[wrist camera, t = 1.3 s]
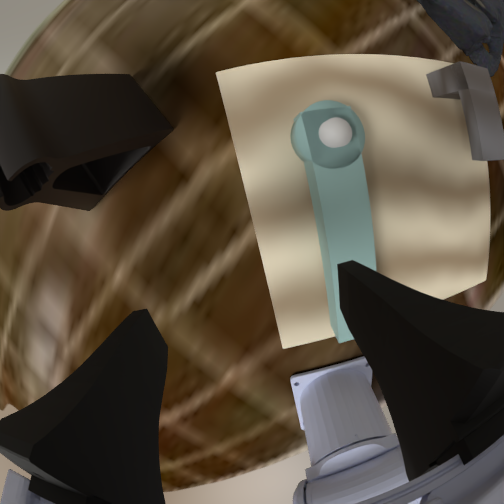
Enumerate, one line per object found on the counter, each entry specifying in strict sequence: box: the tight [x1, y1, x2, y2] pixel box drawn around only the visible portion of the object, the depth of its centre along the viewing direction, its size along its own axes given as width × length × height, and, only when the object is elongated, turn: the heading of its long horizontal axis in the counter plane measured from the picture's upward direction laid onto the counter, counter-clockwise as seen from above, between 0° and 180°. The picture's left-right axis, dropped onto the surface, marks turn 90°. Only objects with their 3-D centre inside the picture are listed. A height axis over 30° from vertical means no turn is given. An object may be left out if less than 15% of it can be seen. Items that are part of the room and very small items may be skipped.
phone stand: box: [0, 74, 173, 211], centre depth 11 cm, size 9×6×12 cm, turn 126°
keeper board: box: [216, 54, 504, 349], centre depth 15 cm, size 21×22×6 cm
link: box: [290, 100, 376, 343], centre depth 16 cm, size 16×4×3 cm, turn 13°
